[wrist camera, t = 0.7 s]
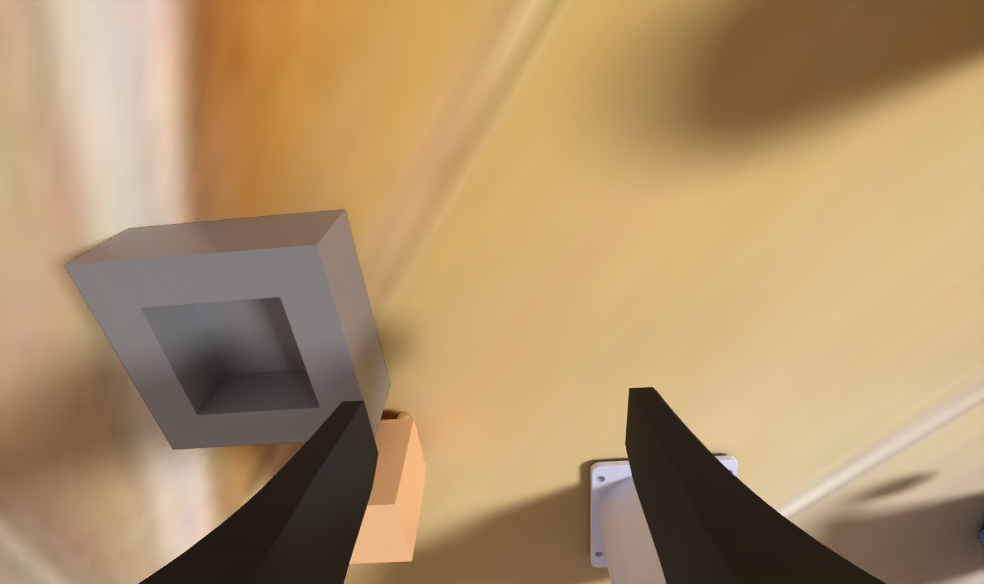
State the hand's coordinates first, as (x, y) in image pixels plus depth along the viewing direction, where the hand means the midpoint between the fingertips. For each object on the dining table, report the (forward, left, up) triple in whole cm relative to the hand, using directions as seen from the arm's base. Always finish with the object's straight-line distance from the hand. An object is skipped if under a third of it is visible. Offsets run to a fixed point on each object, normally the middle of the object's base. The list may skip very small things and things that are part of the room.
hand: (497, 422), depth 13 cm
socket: (-2, +11, -10) cm, 15 cm away
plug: (-10, +7, -10) cm, 15 cm away
